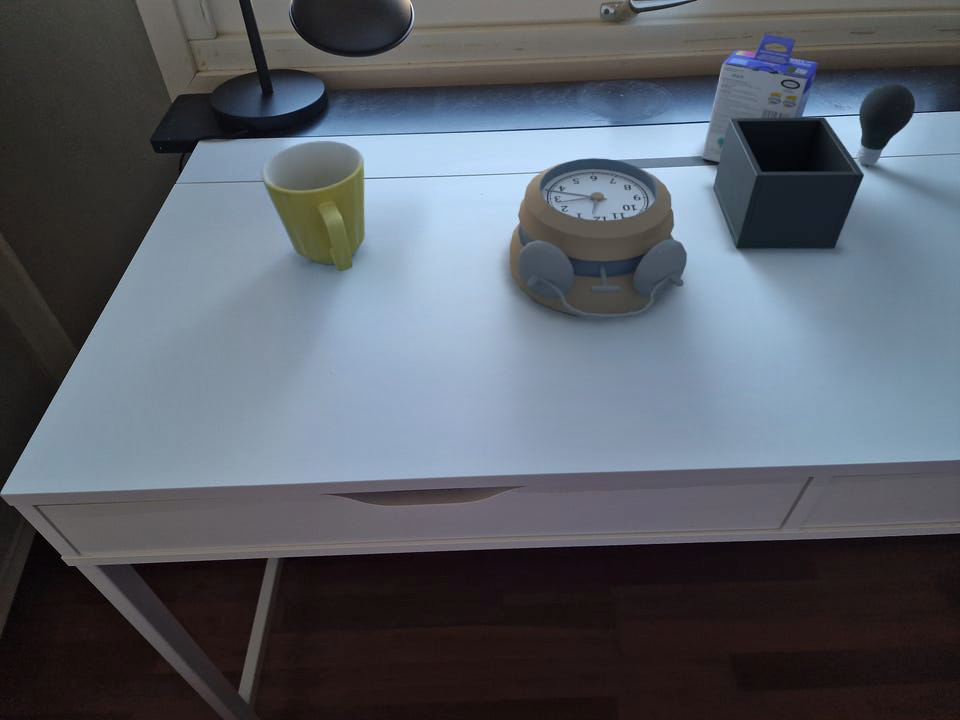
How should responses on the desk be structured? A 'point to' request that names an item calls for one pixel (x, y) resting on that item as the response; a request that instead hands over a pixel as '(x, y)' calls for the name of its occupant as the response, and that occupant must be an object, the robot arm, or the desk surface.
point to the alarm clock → (596, 240)
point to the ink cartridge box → (758, 89)
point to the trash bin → (785, 183)
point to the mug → (319, 199)
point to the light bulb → (883, 119)
